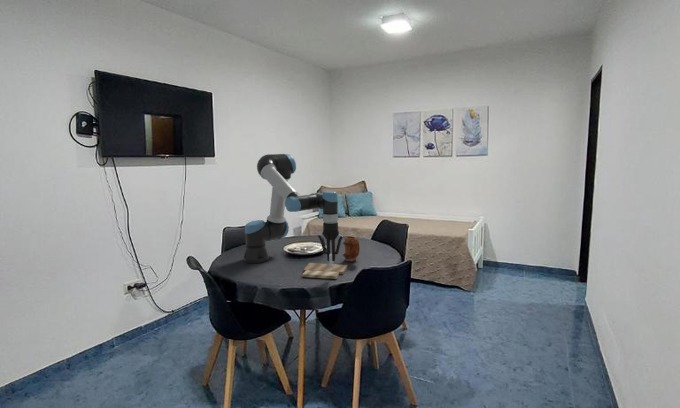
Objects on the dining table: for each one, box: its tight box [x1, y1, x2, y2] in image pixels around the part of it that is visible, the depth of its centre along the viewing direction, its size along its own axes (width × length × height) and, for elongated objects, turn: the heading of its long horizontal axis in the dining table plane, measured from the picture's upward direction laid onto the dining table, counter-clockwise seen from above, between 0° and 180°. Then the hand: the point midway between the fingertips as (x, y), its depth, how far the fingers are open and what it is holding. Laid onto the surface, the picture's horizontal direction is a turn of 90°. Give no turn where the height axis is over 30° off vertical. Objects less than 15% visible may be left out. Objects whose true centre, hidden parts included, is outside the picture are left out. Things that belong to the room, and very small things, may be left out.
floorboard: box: [303, 262, 348, 275], centre depth 206 cm, size 22×12×2 cm, turn 78°
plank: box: [302, 270, 340, 280], centre depth 196 cm, size 18×8×2 cm, turn 78°
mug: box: [342, 235, 360, 262], centre depth 219 cm, size 15×8×15 cm, turn 23°
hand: (331, 266), depth 191 cm, fingers closed
